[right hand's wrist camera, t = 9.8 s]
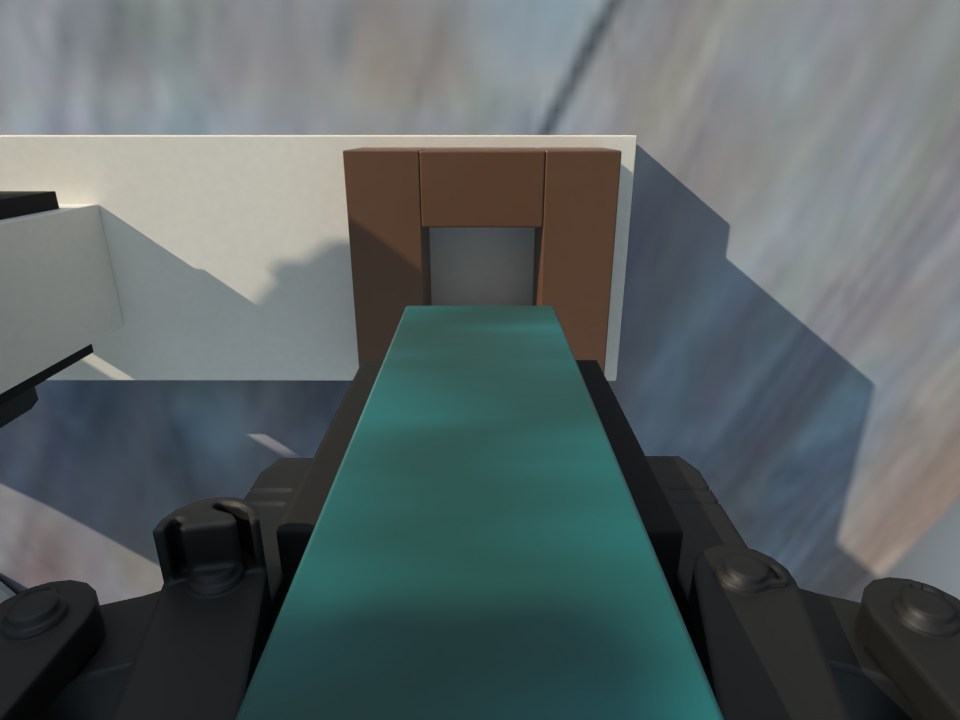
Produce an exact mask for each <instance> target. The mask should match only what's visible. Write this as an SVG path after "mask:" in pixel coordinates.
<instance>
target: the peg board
mask: <svg viewBox="0 0 960 720" xmlns="http://www.w3.org/2000/svg"><path fill="white" fill-rule="evenodd" d="M636 144H637V136H633V135H0V191H55V192H56V196H57V201H58V205H59V209H55V210H49V211H44V212H39V213H34V214H29V215H24V216H18V217H13V218H8V219H3V220H0V394H1V393H3V392H5V391H7V390H9V389H11V388H12V387H14V386H16V385H18V384H20V383H21V382H23V381H25V380H27V379H29V378H30V377H32V376H34V375H36V374H38V373H39V372H41V371H43V370H45V369H47V368H48V367H50V366H52V365H54V364H56V363H57V362H59V361H61V360H63V359H65V358H66V357H68V356H70V355H72V354H74V353H75V352H77V351H79V350H81V349H83V348H84V347H86V346H88V345H90V344H92V347H93V351H94V352H93V353H91V354H90V355H88V356H86V357H84V358H83V359H81V360H79V361H77V362H76V363H74V364H72V365H71V366H69V367H67V368H65V369H64V370H62V371H60V372H58V373H57V374H55V375H53V376H52V377H50V378H48V379H46V380H353V379H354V377H355V375H356V373H357V371H358V369H359V367H360V365H361V363H362V361H363V360H384V359H385V356H386V354H387V352H388V349H389V347H390V344H391V342H392V340H393V337H394V335H395V332H396V330H397V327H398V325H399V323H400V320H401V318H402V315H403V313H404V311H405V308H406V307H407V306H553V307H554V309H555V312H556V314H557V316H558V319H559V321H560V324H561V326H562V328H563V331H564V333H565V336H566V338H567V341H568V343H569V345H570V348H571V350H572V353H573V355H574V357H575V360H597V362H598V364H599V366H600V368H601V369H602V371H603V373H604V375H605V377H606V379H607V381H616V377H617V365H618V354H619V342H620V330H621V319H622V307H623V295H624V284H625V272H626V260H627V249H628V237H629V225H630V214H631V202H632V190H633V179H634V167H635V155H636Z"/></svg>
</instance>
